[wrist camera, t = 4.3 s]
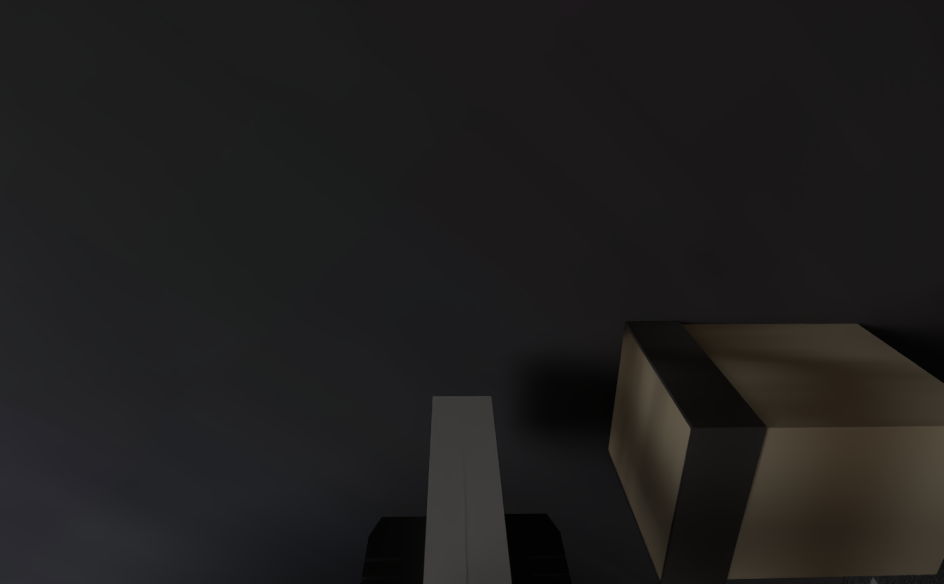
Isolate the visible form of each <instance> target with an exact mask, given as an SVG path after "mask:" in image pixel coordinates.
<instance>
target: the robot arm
mask: <svg viewBox="0 0 944 584" xmlns="http://www.w3.org/2000/svg"><path fill="white" fill-rule="evenodd" d="M361 584H571V579H570V577H569V570H568V566H567V561H566V558H565V552H564V547H563V543H562V538H561V534H560V531H559V530H558V529H557V527H556V526H555V525H554V523H553V522H552V521H551V519H550V518H549V517H548V515H547V514H504V509H503V499H502V490H501V481H500V472H499V463H498V454H497V445H496V436H495V427H494V418H493V409H492V400H491V396H446V397H433V405H432V424H431V444H430V463H429V483H428V502H427V517H382V518H381V519H380V521H379V522H378V524H377V525H376V527H375V528H374V529H373V531H372V532H371V534H370V535H369V538H368V544H367V551H366V557H365V563H364V569H363V575H362V581H361Z"/></svg>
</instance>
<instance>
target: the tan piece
mask: <svg viewBox="0 0 944 584" xmlns="http://www.w3.org/2000/svg"><path fill="white" fill-rule="evenodd" d="M608 453H609V456H610V458H611V461H612V463H613V466H614V468H615V471H616V473H617V476H618V479H619V481H620V484H621V486H622V489H623V491H624V494H625V496H626V499H627V501H628V504H629V507H630V509H631V512H632V514H633V517H634V519H635V522H636V524H637V527H638V529H639V532H640V535H641V537H642V540H643V542H644V545H645V547H646V550H647V552H648V555H649V557H650V560H651V563H652V565H653V568H654V570H655V573H656V575H657V578H658V580H659V583H660V584H726V582H727V579H756V578H799V577H843V576H886V575H930V574H937V572H938V570H939V567H940V565H941V563H942V561H943V559H944V383H942V382H941V381H940V380H938V379H937V378H935V377H934V376H932V375H931V374H929V373H928V372H926V371H925V370H924V369H922V368H921V367H919V366H918V365H916V364H915V363H913V362H912V361H911V360H909V359H908V358H906V357H905V356H903V355H902V354H900V353H899V352H897V351H896V350H895V349H893V348H892V347H890V346H889V345H887V344H886V343H884V342H883V341H882V340H880V339H879V338H877V337H876V336H874V335H873V334H871V333H870V332H868V331H867V330H866V329H864V328H863V327H861V326H860V325H858V324H681V323H680V321H626V322H625V329H624V336H623V344H622V351H621V359H620V366H619V374H618V381H617V389H616V396H615V403H614V411H613V418H612V426H611V433H610V441H609V448H608Z"/></svg>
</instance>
